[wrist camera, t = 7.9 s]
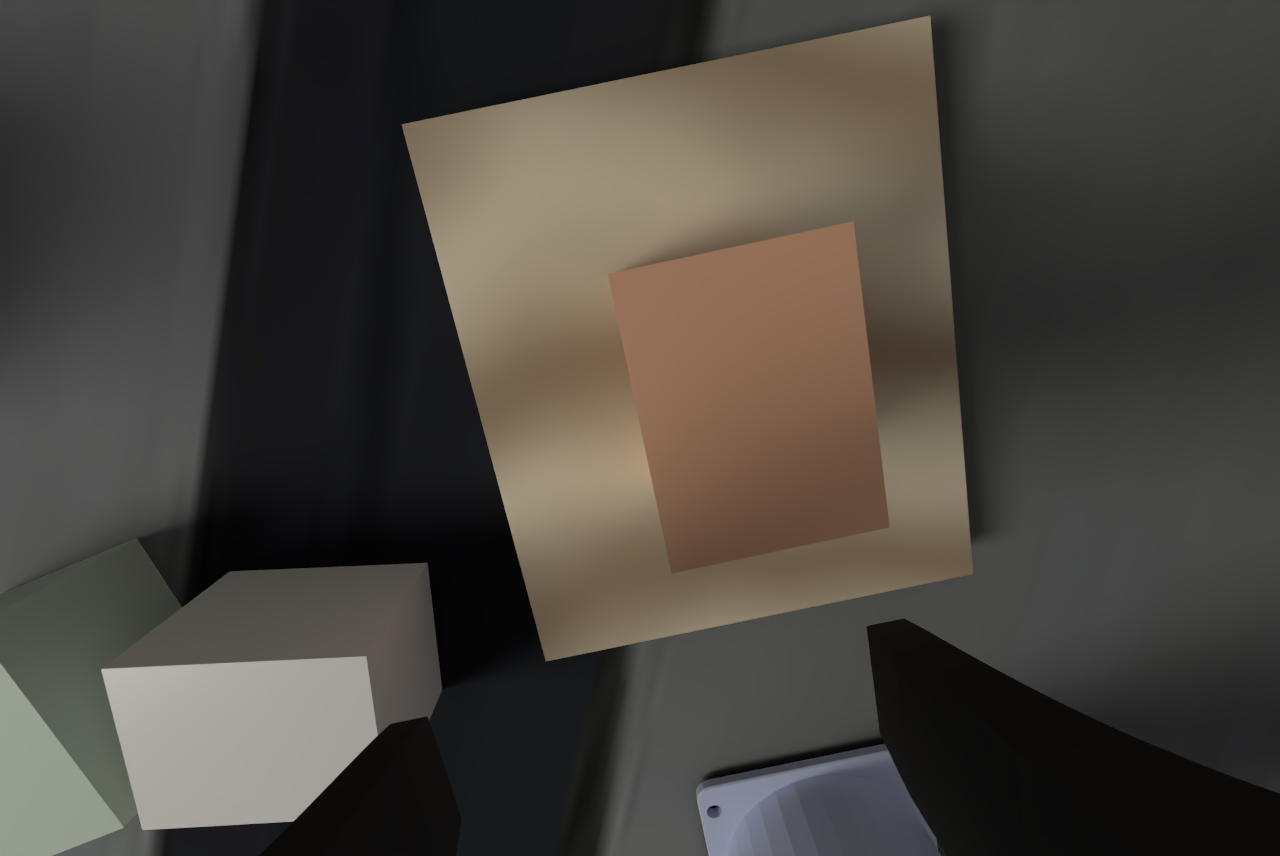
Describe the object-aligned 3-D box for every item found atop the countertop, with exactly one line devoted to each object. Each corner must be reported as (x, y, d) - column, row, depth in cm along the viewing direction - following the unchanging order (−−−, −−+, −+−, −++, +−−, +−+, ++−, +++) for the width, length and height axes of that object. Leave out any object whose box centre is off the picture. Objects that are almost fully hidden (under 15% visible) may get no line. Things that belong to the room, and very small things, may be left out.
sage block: (242, 695, 20) (124, 827, 15) (119, 744, 20) (-37, 890, 15) (138, 536, 19) (-29, 626, 14) (7, 590, 19) (-203, 697, 14)
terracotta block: (811, 458, 17) (889, 527, 12) (654, 491, 17) (671, 573, 12) (779, 239, 16) (853, 221, 11) (608, 276, 16) (607, 273, 11)
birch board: (946, 552, 20) (972, 573, 18) (550, 633, 20) (546, 661, 18) (901, 39, 16) (930, 15, 15) (420, 138, 16) (401, 124, 15)
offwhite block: (428, 561, 19) (366, 656, 14) (442, 687, 20) (389, 815, 15) (231, 570, 19) (101, 668, 14) (256, 697, 20) (142, 829, 15)
